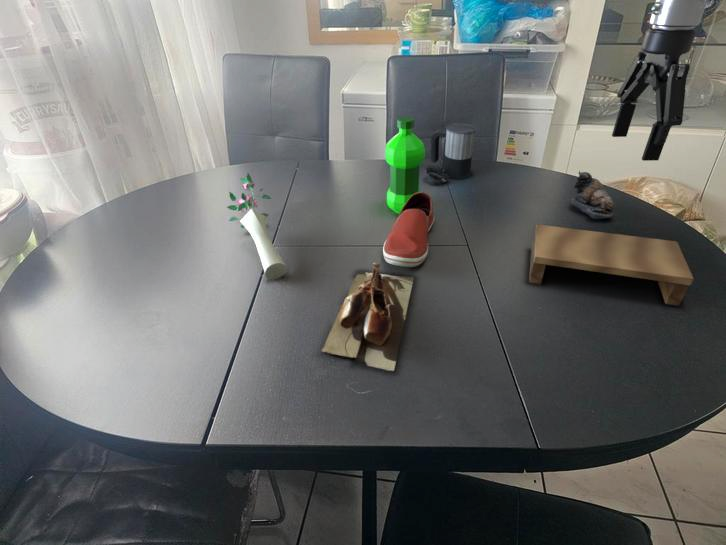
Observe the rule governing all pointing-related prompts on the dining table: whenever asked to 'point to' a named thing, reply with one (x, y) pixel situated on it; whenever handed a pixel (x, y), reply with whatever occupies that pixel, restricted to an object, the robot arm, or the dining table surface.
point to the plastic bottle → (403, 164)
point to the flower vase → (258, 231)
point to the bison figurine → (592, 197)
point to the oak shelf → (612, 257)
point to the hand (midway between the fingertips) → (633, 147)
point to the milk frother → (452, 152)
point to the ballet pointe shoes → (372, 319)
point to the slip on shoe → (410, 232)
